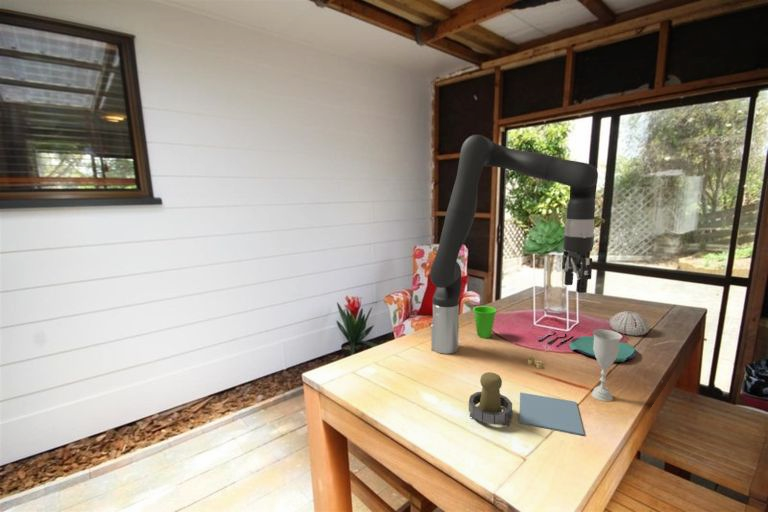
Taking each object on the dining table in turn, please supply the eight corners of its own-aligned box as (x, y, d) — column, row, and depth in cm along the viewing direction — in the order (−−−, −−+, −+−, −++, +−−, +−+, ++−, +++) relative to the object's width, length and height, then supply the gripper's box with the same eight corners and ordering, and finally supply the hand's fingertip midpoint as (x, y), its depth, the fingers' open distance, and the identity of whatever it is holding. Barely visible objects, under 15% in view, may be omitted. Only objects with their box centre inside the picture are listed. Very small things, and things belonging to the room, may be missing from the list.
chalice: (616, 406, 93) (622, 341, 90) (587, 399, 97) (591, 336, 94) (616, 393, 99) (621, 332, 96) (588, 386, 103) (592, 327, 100)
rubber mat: (519, 423, 87) (519, 421, 87) (520, 393, 100) (520, 392, 100) (583, 435, 82) (584, 434, 82) (576, 403, 95) (576, 401, 95)
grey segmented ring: (466, 422, 88) (466, 409, 87) (472, 400, 98) (472, 388, 97) (510, 431, 84) (511, 418, 84) (512, 407, 94) (512, 395, 93)
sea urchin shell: (654, 332, 142) (656, 313, 140) (640, 340, 134) (642, 320, 133) (618, 323, 153) (619, 305, 151) (602, 330, 145) (604, 311, 144)
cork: (503, 423, 87) (505, 382, 86) (478, 421, 89) (479, 380, 87) (501, 409, 93) (502, 370, 91) (477, 407, 94) (478, 368, 93)
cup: (498, 334, 143) (499, 307, 142) (492, 342, 136) (493, 314, 134) (476, 330, 148) (477, 304, 146) (469, 337, 141) (469, 310, 139)
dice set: (540, 370, 114) (540, 364, 114) (524, 365, 118) (524, 360, 118) (545, 364, 118) (545, 359, 118) (530, 360, 122) (530, 355, 121)
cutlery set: (625, 370, 112) (625, 363, 112) (533, 344, 135) (533, 338, 134) (643, 352, 125) (644, 346, 125) (556, 331, 148) (556, 325, 147)
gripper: (556, 231, 111) (552, 282, 114) (575, 237, 97) (571, 295, 100) (581, 231, 110) (577, 282, 113) (604, 237, 96) (599, 295, 99)
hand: (574, 288), depth 106 cm, fingers open, 8 cm apart
